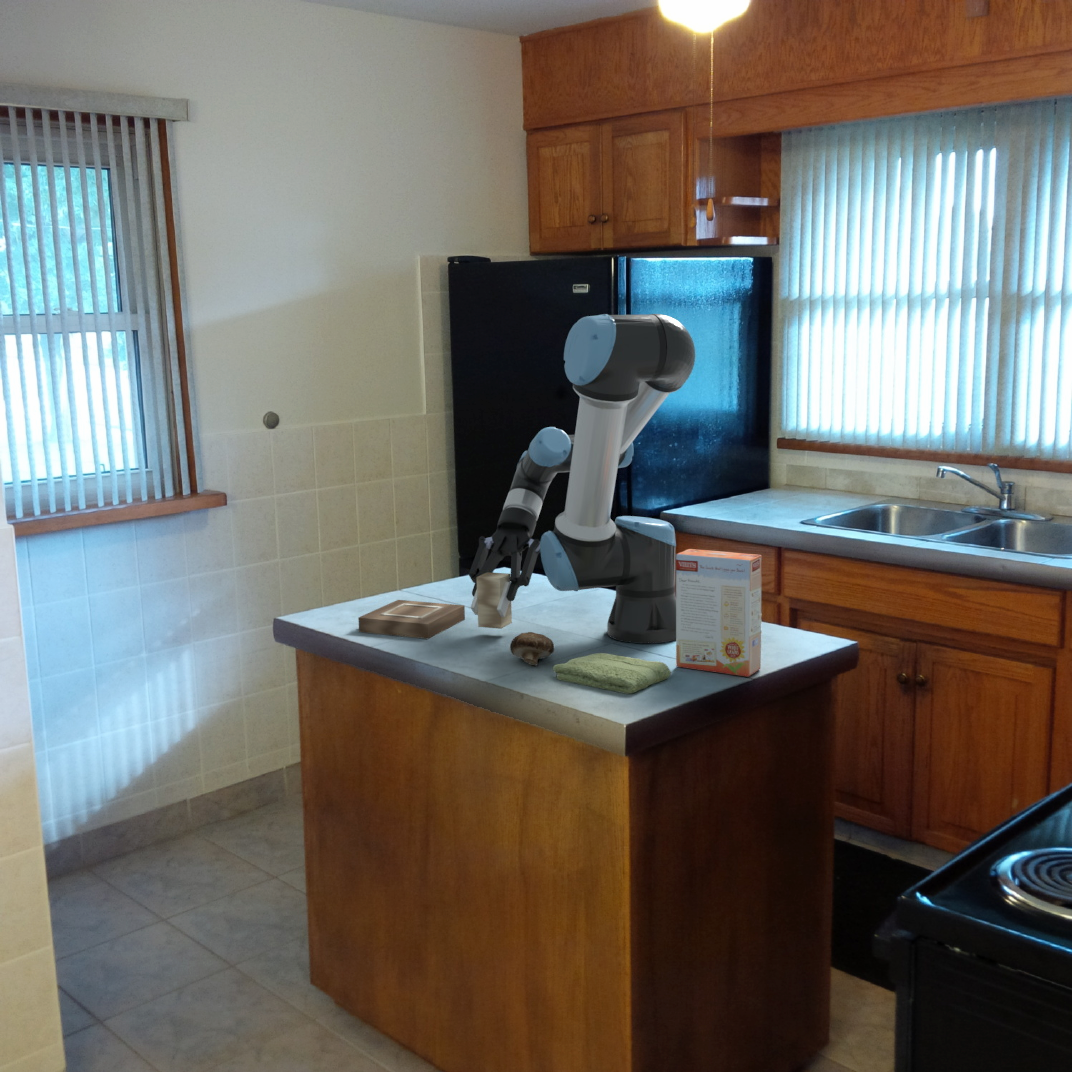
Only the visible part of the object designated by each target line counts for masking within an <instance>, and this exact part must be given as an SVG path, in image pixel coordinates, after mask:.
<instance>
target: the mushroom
mask: <svg viewBox="0 0 1072 1072" xmlns="http://www.w3.org/2000/svg"><path fill="white" fill-rule="evenodd" d="M554 644H555V643H554V642H553V640H552V639H551V638H549V637H548V636H546V635H544V634H541V633H538V632H537V633H536V632H533V631H528V632H521V633H520V634H517V635H515V636H514V637H513V638H512V640H511V642H510V645H509V649H510V653H511V654H512V655H513V656H514V657H516V658H519V659H522V660H523V662H525V663H527V664H529V665H533V666H538V660H540V659H545V658H549V657H550V656H552V655H553V653H554V651H555V645H554Z"/></svg>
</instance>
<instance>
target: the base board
mask: <svg viewBox="0 0 1072 1072" xmlns="http://www.w3.org/2000/svg"><path fill="white" fill-rule="evenodd" d="M465 606H466V605H463V604H452V603H442V602H441V603H440V602H429V601H428V602H427V601H417V600H416V601H415V600H407V599H405V600H404V599H396V600H395V601H392V602H390V603H387V604H386V605H383V606H381V607H379V608H377V609H374V610H372V611H370V612H368V613H365V614H363V615H361V616H359V617H358V618H357V619H358V633H364V634H366V633H367V634H376V635H387V636H397V637H406V638H418V639H426V640H427V639H428V640H429V639H430V638H431V639H432V638H433V637H435V636H437V635H438V634H440V633H442V632H444V631H446V630H447V629H450V628H451V627H454V626H455V625H457V624H458V623H461V622H462V621H464V620H465V619H466V615H465V614H466V612H465V611H466V609H465Z"/></svg>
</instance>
